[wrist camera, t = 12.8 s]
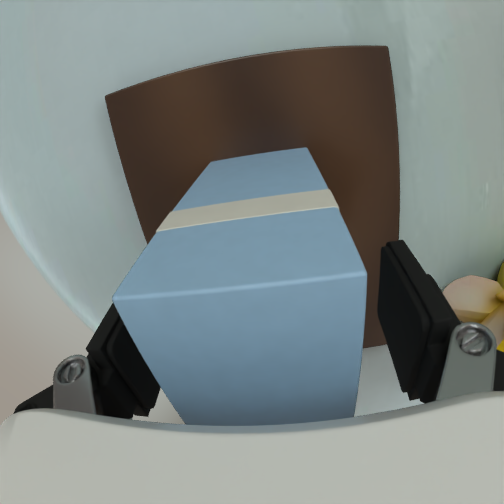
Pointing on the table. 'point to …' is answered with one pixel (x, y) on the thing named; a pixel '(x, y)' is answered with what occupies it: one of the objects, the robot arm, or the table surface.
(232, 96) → the brown wooden board
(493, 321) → the decorative flower
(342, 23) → the table surface
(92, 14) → the table surface
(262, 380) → the box
